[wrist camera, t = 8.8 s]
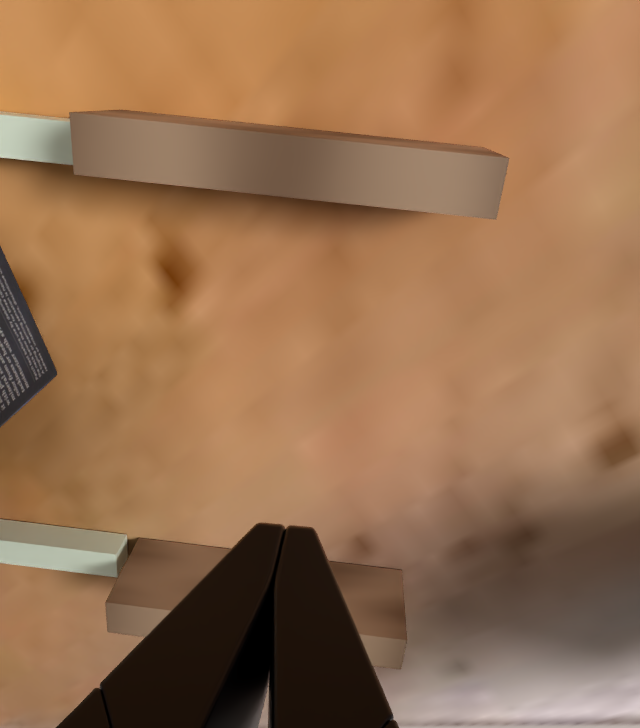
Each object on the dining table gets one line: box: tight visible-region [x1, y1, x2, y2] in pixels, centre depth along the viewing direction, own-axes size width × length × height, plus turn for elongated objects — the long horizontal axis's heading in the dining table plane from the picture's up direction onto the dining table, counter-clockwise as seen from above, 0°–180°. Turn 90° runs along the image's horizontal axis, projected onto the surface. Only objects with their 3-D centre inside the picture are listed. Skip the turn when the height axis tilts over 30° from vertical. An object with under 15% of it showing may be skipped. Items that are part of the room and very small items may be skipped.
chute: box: [69, 110, 509, 669], centre depth 20 cm, size 11×18×4 cm, turn 175°
